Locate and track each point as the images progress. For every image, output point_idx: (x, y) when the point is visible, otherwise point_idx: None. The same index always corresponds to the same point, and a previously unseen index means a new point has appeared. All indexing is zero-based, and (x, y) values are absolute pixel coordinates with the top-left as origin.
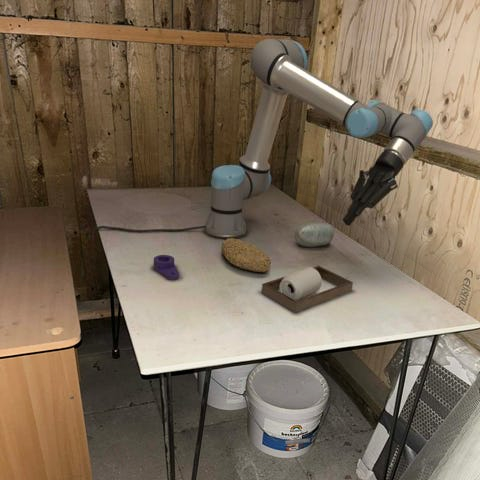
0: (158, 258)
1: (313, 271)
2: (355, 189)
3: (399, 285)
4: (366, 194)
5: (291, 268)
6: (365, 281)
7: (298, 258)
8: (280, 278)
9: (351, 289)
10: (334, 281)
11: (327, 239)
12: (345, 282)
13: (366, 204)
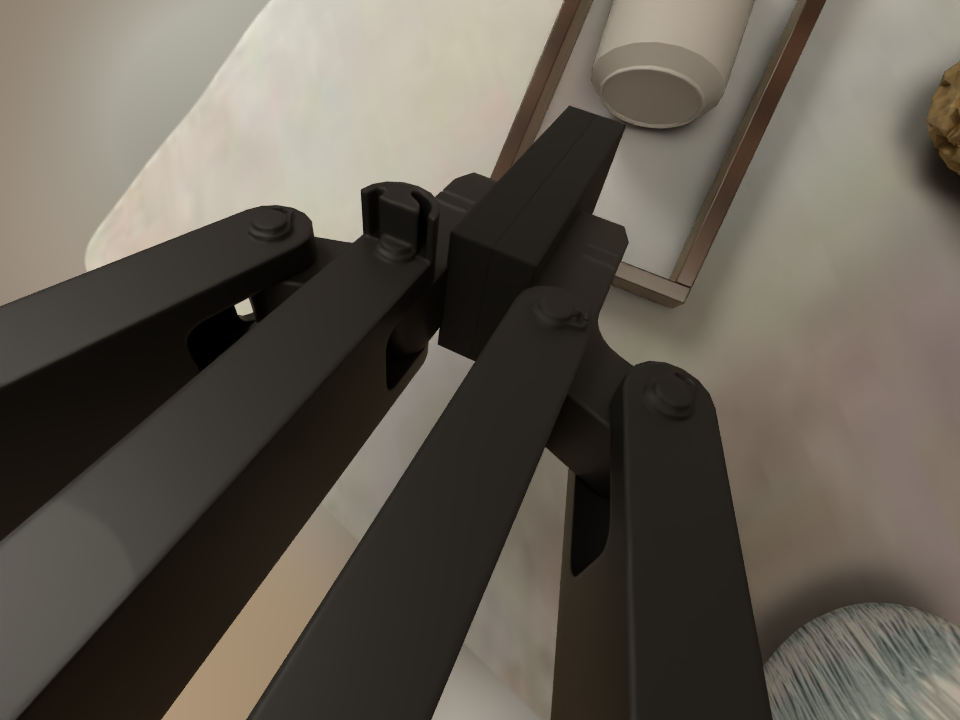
0: None
1: (651, 14)
2: (681, 592)
3: None
4: (320, 375)
5: (819, 292)
6: (455, 364)
7: (836, 437)
8: (810, 20)
9: None
10: None
11: (767, 685)
12: None
13: (336, 245)
